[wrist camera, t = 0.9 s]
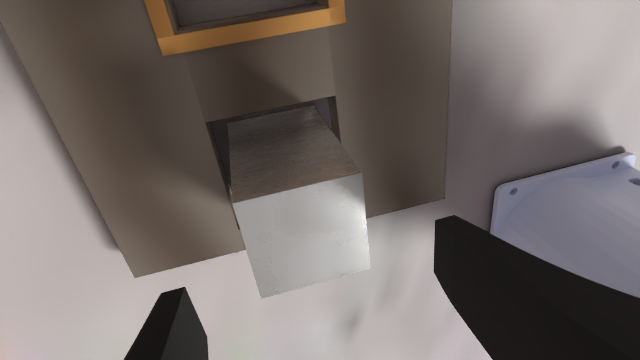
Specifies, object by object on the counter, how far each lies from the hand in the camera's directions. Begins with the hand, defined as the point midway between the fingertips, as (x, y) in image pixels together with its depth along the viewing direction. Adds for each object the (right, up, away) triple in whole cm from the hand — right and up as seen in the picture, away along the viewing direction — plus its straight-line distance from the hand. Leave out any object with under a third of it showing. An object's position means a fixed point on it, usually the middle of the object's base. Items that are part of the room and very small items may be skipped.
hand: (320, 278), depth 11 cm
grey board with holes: (-3, +8, +5) cm, 10 cm away
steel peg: (-2, +4, +8) cm, 9 cm away
